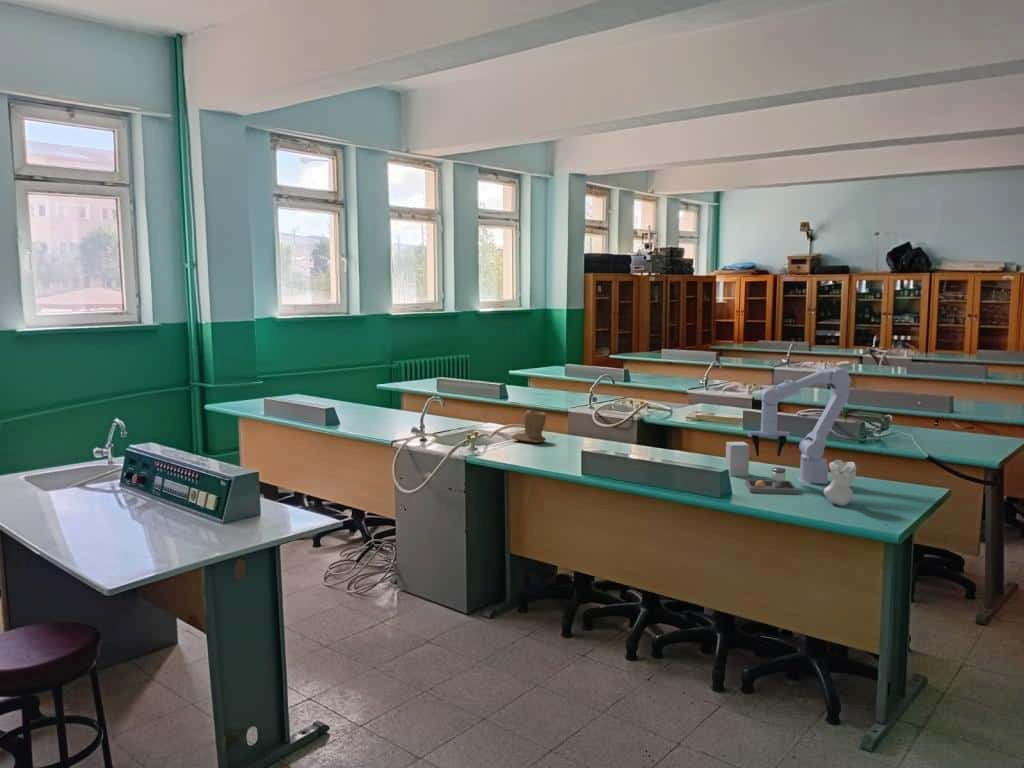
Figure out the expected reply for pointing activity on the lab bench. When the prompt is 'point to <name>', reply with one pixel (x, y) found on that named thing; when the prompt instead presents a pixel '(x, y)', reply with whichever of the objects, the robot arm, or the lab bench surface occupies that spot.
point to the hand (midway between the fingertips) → (767, 455)
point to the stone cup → (532, 427)
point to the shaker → (778, 477)
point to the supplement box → (737, 458)
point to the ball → (760, 484)
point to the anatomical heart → (841, 482)
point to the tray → (770, 487)
